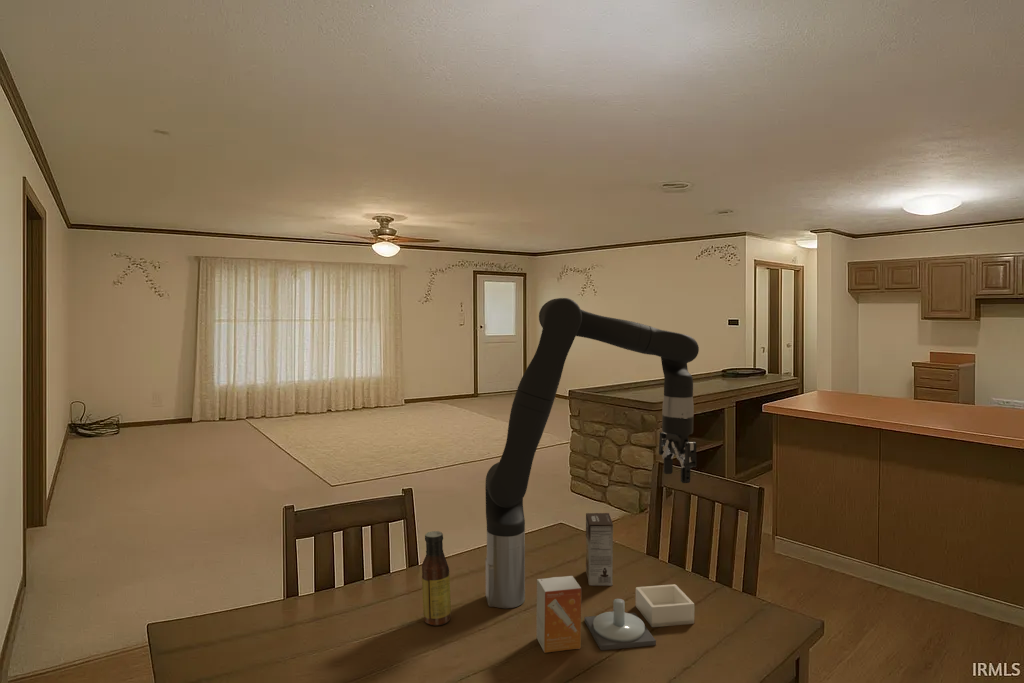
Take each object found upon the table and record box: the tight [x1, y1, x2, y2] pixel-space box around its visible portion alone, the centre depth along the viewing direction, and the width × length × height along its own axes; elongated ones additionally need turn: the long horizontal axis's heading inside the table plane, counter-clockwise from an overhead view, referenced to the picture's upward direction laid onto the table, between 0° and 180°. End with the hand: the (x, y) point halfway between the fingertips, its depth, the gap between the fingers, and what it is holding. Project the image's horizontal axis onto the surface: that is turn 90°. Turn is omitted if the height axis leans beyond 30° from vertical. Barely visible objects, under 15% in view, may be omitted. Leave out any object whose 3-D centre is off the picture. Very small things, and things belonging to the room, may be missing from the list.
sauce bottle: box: [421, 530, 452, 626], centre depth 136 cm, size 7×6×20 cm
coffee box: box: [585, 512, 614, 586], centre depth 158 cm, size 9×6×16 cm
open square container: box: [635, 584, 695, 628], centre depth 139 cm, size 10×10×4 cm
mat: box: [584, 612, 657, 651], centre depth 131 cm, size 12×12×1 cm
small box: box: [536, 575, 582, 654], centre depth 127 cm, size 8×6×13 cm
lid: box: [593, 598, 646, 642], centre depth 131 cm, size 11×11×6 cm
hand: (676, 478), depth 151 cm, fingers open, 8 cm apart
